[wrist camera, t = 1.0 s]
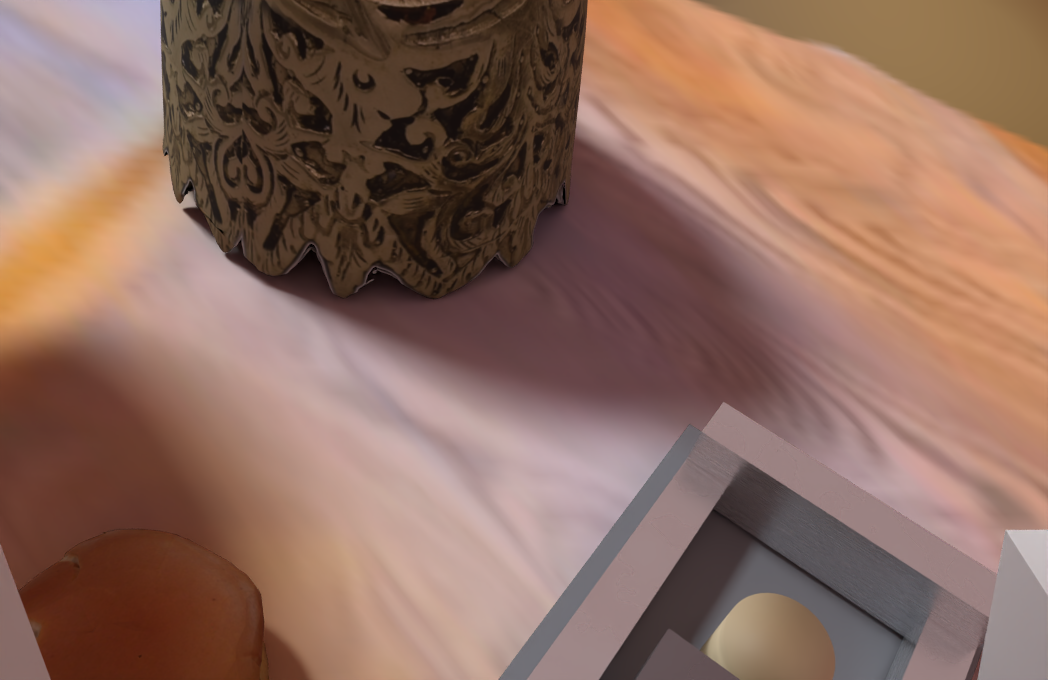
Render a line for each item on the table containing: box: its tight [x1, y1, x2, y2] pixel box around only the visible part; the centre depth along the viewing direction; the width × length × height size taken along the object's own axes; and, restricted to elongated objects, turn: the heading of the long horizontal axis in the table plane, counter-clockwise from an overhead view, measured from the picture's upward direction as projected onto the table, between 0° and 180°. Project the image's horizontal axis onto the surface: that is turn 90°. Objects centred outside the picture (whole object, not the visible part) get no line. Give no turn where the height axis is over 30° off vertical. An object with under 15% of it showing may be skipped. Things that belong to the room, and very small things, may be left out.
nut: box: [700, 593, 835, 680], centre depth 34 cm, size 4×4×4 cm
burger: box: [18, 529, 269, 680], centre depth 32 cm, size 10×9×5 cm
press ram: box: [527, 402, 997, 680], centre depth 24 cm, size 13×24×23 cm, turn 144°
